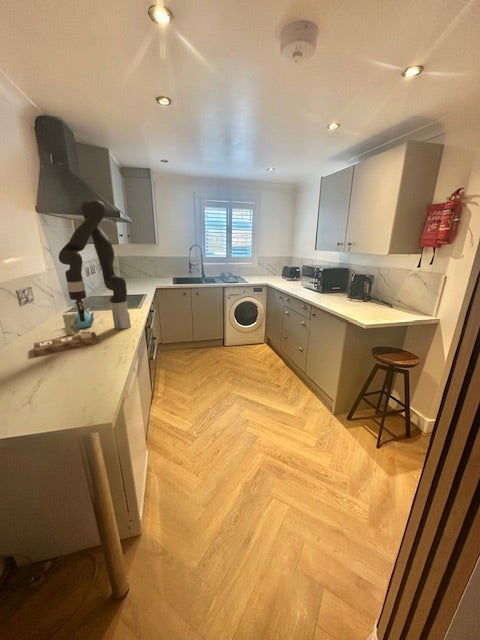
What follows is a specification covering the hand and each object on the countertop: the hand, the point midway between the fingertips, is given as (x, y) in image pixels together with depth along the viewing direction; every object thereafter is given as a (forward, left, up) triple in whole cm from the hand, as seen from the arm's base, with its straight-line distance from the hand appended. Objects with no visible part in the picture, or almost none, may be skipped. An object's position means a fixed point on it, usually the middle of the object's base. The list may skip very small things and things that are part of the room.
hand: (82, 321), depth 138 cm
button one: (+9, 0, -12) cm, 15 cm away
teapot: (-2, -33, -12) cm, 35 cm away
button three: (0, 0, -11) cm, 11 cm away
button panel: (+9, 0, -12) cm, 15 cm away
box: (+5, -19, -12) cm, 23 cm away
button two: (+18, 0, -12) cm, 22 cm away
